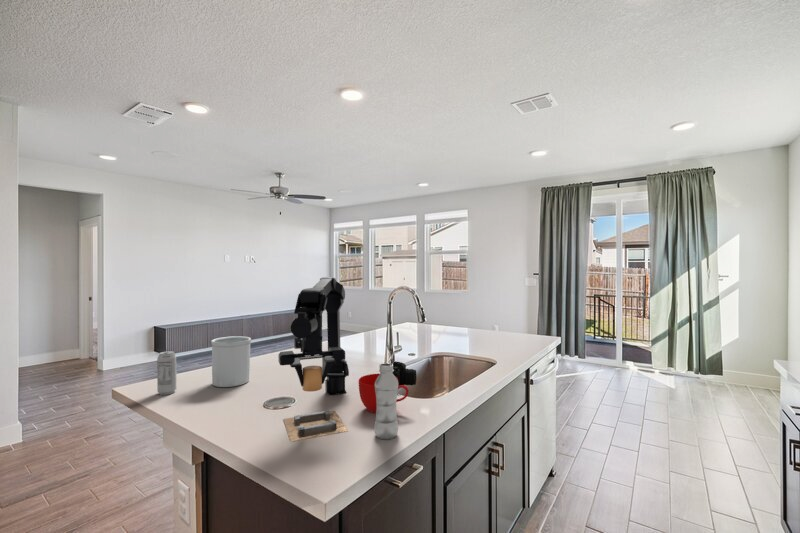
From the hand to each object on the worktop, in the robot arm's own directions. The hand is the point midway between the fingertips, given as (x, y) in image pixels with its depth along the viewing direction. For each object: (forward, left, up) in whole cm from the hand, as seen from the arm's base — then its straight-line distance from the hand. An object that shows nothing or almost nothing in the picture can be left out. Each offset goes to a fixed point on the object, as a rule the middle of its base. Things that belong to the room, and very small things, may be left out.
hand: (312, 384), depth 110 cm
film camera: (-40, -23, -13) cm, 48 cm away
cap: (0, 0, -1) cm, 1 cm away
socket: (-1, +1, -12) cm, 12 cm away
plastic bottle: (-17, +16, -12) cm, 26 cm away
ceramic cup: (-24, -2, -12) cm, 27 cm away
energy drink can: (+44, -51, -12) cm, 69 cm away
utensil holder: (+22, -55, -12) cm, 61 cm away
